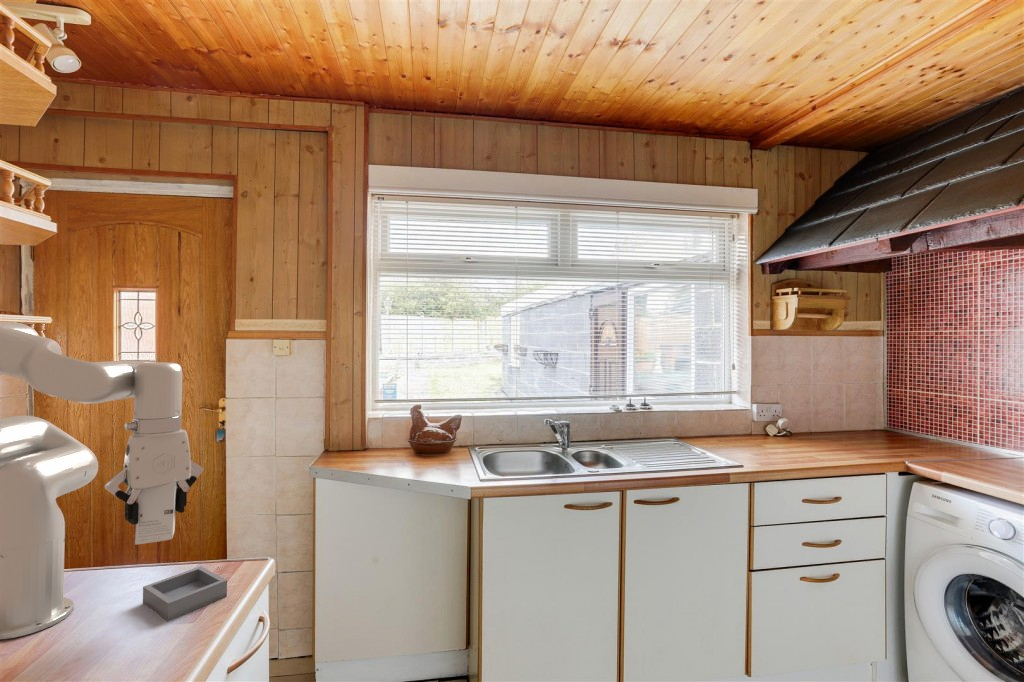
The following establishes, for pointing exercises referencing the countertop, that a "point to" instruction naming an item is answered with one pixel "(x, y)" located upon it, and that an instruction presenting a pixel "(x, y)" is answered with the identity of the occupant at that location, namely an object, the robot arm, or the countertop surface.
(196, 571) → the tray
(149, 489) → the skincare box
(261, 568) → the countertop surface
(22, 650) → the countertop surface
